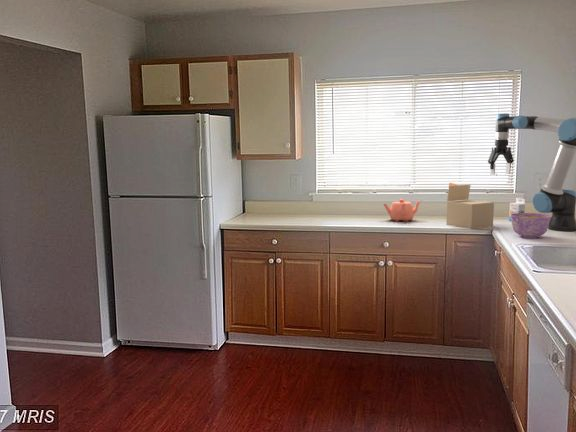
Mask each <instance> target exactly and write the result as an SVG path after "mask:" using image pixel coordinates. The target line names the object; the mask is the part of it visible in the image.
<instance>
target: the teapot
mask: <svg viewBox="0 0 576 432" xmlns="http://www.w3.org/2000/svg"><path fill="white" fill-rule="evenodd" d="M421 202H422V200H419V201H417V202H416V203H415V206H414V208H413V204H412V202H411V201H405V199H404V198H403V199H402V198H400V199H399V201H392V203H391V206H390V207H389V205H388V204H387V203H384V204H383V207H384V208H385V209H386V212H387V213H388V215H389V217H390V219H391V220H393V221H394V222H400V221H404V222H405V223H406V222H410V221H412V220H413V219H414V217H415V214H416V213H417V212H418V210H419V205H420V203H421Z"/></svg>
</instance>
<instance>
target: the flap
mask: <svg viewBox="0 0 576 432" xmlns="http://www.w3.org/2000/svg"><path fill="white" fill-rule="evenodd" d="M447 190H448V191H447V198H446V202H452V201H464V200H469V198H470V197H469V196H470V190H471V184H457V183H454V182H449V184H448V189H447Z"/></svg>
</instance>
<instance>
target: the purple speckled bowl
mask: <svg viewBox="0 0 576 432" xmlns="http://www.w3.org/2000/svg"><path fill="white" fill-rule="evenodd" d="M510 216H511V221H510V222H511V225H512V229H513V231H514V232H515V233H516V234H517V235H519V236H520V237H521V238H526V239H537V238H538V237H542V235H545V234H546V232H548V230H549V229H548V226H549V223H550V220H551V217H552V215H550V214H547V213H534V212H524V213H514V214H511V215H510Z"/></svg>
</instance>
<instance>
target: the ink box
mask: <svg viewBox="0 0 576 432" xmlns="http://www.w3.org/2000/svg"><path fill="white" fill-rule="evenodd" d="M525 204H526V199H525V198H522V197H521V198H520V197H516V198H515V202H509V212H508V213H509V214H508V215H509V217H508V218H509V219H508V221H509V222H512V221H511V216H510V215H511V214H514V213H526V212H525V209H526V205H525Z"/></svg>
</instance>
